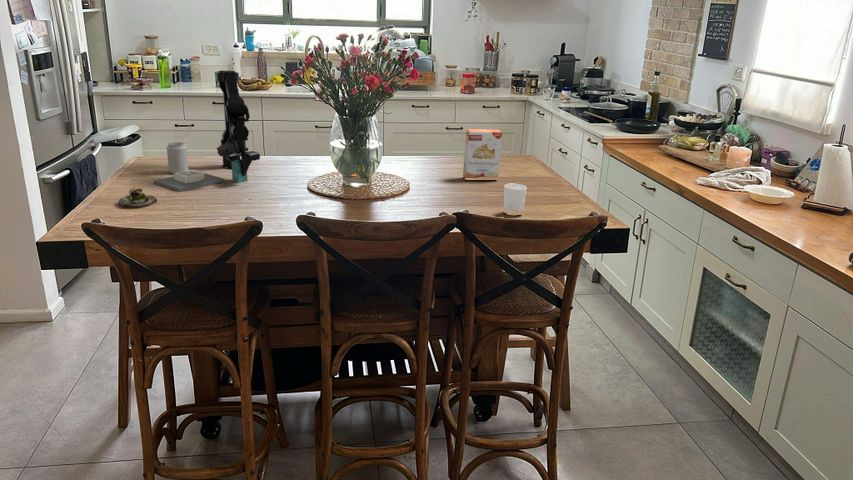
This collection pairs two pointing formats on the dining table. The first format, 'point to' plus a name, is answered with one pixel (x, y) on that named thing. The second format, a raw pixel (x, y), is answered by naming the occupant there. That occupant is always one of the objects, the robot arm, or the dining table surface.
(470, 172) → the cracker box
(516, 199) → the white cup
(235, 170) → the peg
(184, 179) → the holder
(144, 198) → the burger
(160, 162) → the dining table surface
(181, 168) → the can
